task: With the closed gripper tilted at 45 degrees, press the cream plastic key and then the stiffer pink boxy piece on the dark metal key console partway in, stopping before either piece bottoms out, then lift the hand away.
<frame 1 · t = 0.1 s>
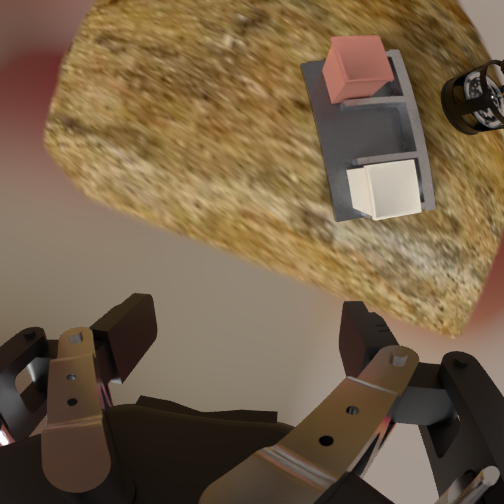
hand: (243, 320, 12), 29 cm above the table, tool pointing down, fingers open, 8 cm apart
pink boxy piece: (353, 72, 28), point 7 cm above the table, slide at 0.0 cm
key console: (361, 134, 36), on the table
french press: (465, 105, 32), on the table
cream key: (379, 187, 31), point 7 cm above the table, slide at 0.0 cm
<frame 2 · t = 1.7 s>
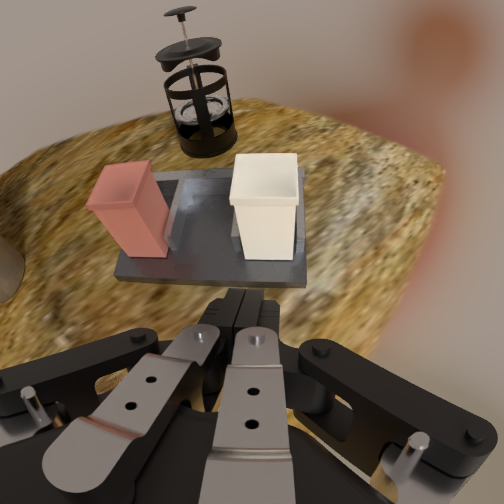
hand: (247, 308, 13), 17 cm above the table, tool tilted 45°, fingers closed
pink boxy piece: (135, 213, 30), point 7 cm above the table, slide at 0.0 cm
key console: (211, 239, 35), on the table
french press: (208, 139, 46), on the table
cream key: (267, 211, 28), point 7 cm above the table, slide at 0.0 cm
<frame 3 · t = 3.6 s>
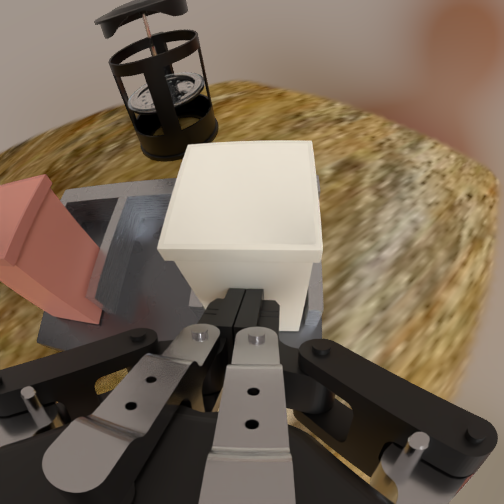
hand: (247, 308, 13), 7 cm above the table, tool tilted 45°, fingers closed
pink boxy piece: (44, 259, 16), point 7 cm above the table, slide at 0.0 cm
key console: (168, 293, 22), on the table
french press: (179, 134, 32), on the table
cream key: (254, 255, 15), point 7 cm above the table, slide at 0.6 cm, touching gripper
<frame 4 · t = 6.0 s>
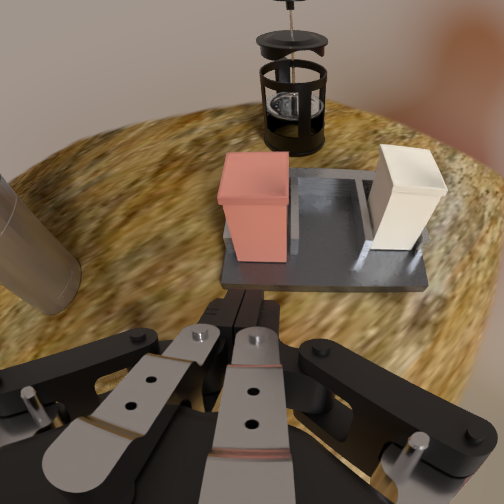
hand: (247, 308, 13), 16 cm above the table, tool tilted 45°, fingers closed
pink boxy piece: (259, 211, 28), point 7 cm above the table, slide at 0.0 cm
key console: (326, 243, 33), on the table
french press: (293, 137, 44), on the table
cream key: (399, 201, 27), point 7 cm above the table, slide at 1.8 cm
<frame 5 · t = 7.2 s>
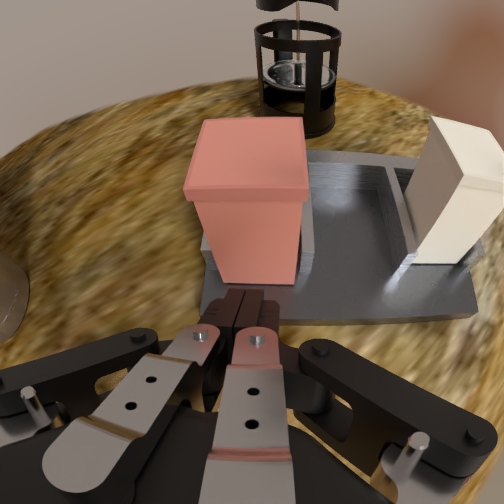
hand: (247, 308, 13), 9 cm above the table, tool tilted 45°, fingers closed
pink boxy piece: (255, 211, 18), point 7 cm above the table, slide at 0.0 cm
key console: (347, 254, 23), on the table
french press: (296, 116, 34), on the table
cream key: (451, 199, 17), point 7 cm above the table, slide at 1.8 cm
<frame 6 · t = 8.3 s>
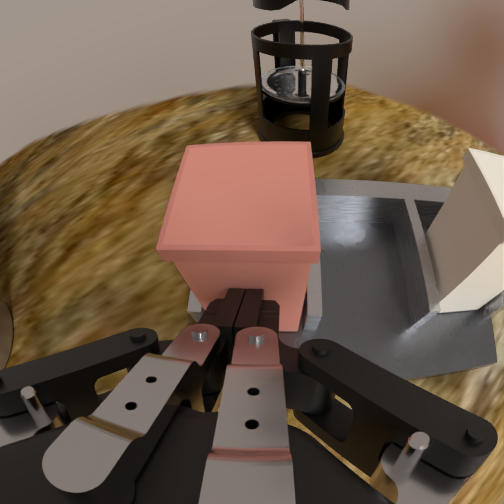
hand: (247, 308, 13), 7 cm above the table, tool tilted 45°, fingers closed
pink boxy piece: (253, 255, 15), point 7 cm above the table, slide at 0.9 cm, touching gripper
key console: (358, 301, 20), on the table
french press: (299, 130, 31), on the table
cream key: (480, 244, 14), point 7 cm above the table, slide at 1.8 cm
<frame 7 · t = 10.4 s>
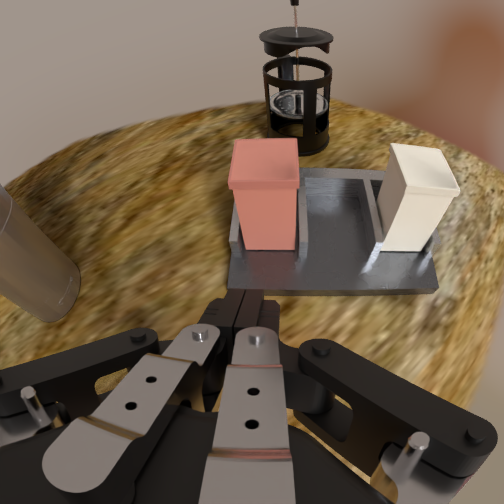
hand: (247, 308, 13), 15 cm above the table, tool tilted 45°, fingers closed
pink boxy piece: (268, 198, 27), point 7 cm above the table, slide at 1.8 cm
key console: (334, 245, 32), on the table
french press: (297, 136, 43), on the table
cream key: (410, 202, 26), point 7 cm above the table, slide at 1.8 cm
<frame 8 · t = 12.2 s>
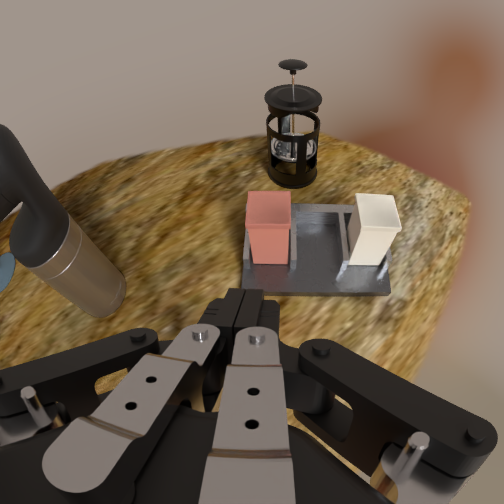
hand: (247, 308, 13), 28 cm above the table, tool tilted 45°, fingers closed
pink boxy piece: (270, 230, 41), point 7 cm above the table, slide at 1.8 cm
cocktail glass: (2, 273, 50), on the table
key console: (316, 260, 45), on the table
french press: (291, 170, 56), on the table
cream key: (369, 232, 39), point 7 cm above the table, slide at 1.8 cm
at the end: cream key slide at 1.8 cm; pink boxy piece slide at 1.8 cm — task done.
